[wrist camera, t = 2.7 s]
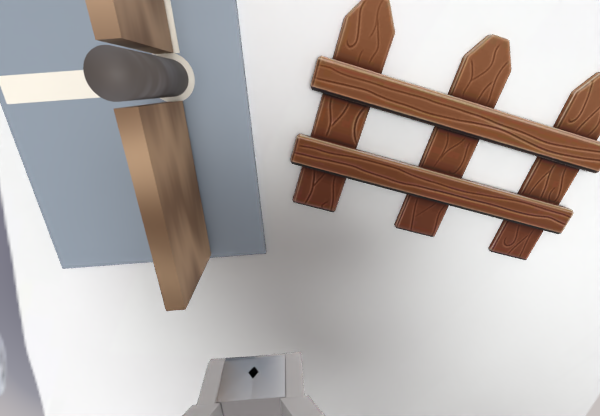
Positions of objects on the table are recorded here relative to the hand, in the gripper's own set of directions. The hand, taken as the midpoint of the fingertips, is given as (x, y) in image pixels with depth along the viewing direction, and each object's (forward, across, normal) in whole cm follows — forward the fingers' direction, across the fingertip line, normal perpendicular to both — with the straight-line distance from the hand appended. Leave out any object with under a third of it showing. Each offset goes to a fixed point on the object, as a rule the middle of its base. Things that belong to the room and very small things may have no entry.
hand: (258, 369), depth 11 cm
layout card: (+16, +10, -9) cm, 21 cm away
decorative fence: (+17, -14, -4) cm, 22 cm away
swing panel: (+16, +6, -2) cm, 17 cm away
